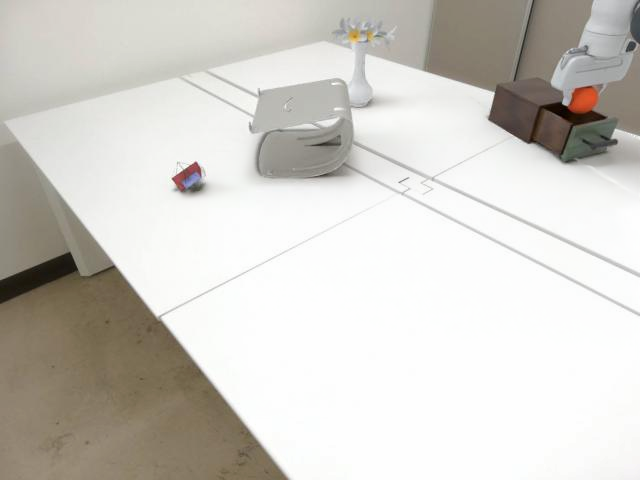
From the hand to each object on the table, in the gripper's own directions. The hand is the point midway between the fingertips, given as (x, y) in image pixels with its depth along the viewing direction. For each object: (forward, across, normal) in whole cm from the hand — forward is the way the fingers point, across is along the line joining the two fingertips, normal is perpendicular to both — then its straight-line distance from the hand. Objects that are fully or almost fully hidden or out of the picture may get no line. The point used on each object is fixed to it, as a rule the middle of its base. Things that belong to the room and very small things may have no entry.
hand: (579, 102), depth 113 cm
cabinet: (+12, 0, +14) cm, 18 cm away
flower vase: (+12, -37, +48) cm, 61 cm away
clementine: (+3, 0, 0) cm, 3 cm away
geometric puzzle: (+12, -95, +16) cm, 97 cm away
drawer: (+11, 0, -1) cm, 11 cm away
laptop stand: (+12, -65, +22) cm, 70 cm away
